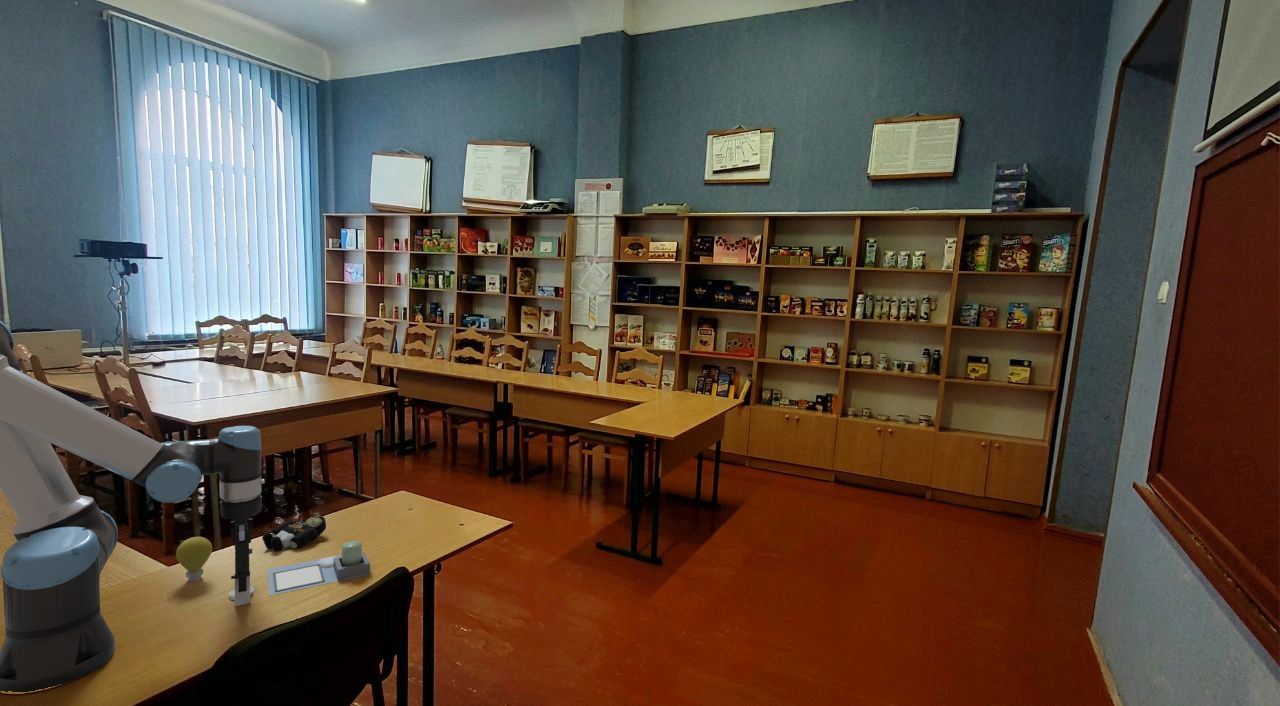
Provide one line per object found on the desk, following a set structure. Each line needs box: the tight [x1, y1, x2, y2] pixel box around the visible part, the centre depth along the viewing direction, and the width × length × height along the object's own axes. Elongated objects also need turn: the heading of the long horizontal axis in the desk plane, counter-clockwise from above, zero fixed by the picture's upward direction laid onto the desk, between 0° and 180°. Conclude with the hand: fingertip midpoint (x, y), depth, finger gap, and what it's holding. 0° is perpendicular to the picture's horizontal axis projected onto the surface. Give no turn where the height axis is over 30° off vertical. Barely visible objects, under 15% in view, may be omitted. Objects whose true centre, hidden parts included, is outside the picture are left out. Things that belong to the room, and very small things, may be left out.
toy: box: [261, 516, 327, 553], centre depth 153 cm, size 12×8×15 cm
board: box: [266, 551, 371, 597], centre depth 137 cm, size 20×14×3 cm
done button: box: [341, 540, 363, 566], centre depth 138 cm, size 4×4×4 cm
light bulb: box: [175, 536, 213, 583], centre depth 131 cm, size 7×7×10 cm
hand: (242, 593), depth 127 cm, fingers open, 9 cm apart
